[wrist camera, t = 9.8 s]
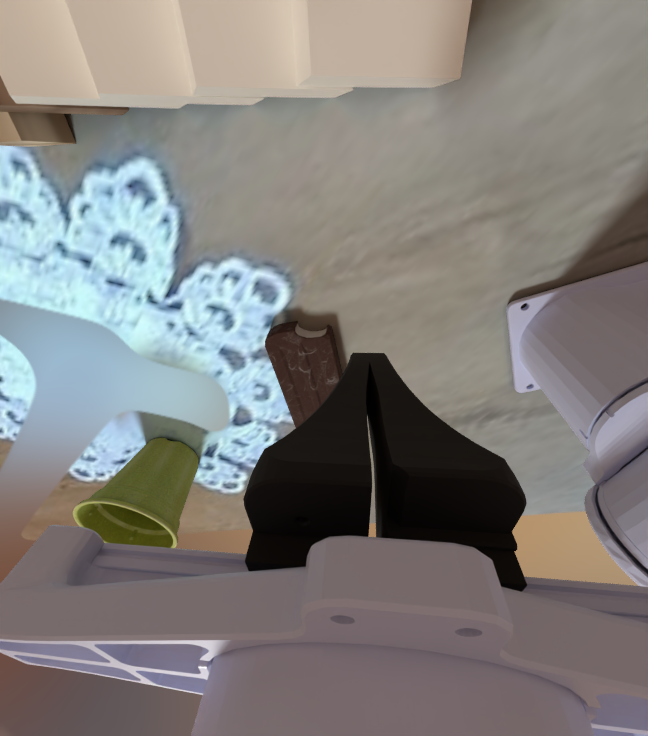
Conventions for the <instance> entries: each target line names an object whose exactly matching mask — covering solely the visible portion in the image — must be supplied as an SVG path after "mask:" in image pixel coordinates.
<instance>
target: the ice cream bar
mask: <svg viewBox="0 0 648 736" xmlns="http://www.w3.org/2000/svg"><path fill="white" fill-rule="evenodd" d="M265 347H266V350H267V352H268V355H269V358H270V360H271V363H272V366H273V368H274V371H275V374H276V376H277V379H278V382H279V384H280V387H281V390H282V392H283V395H284V398H285V400H286V403H287V406H288V408H289V411H290V414H291V416H292V419H293V422H294V424H295V427H296V428H297V427H298V426H299V425H301V424H302V423H303V422H304V421H305V420H307V419H308V418H309V417H310V416H311V415H312V414H313V413H314V412H315V411H316V410H317V409H318V408H319V407H320V405H321V404H322V403H323V402H324V401H325V400H326V398H327V397H328V396H329V395H330V393H331V392H332V390H333V389H334V388H335V386H336V385H337V383H338V382H339V380H340V378H341V377H342V375H343V374H342V370H341V365H340V361H339V357H338V352H337V348H336V343H335V339H334V335H333V330H332V326H330V325H328V326H327V328H326V329H324V330H320V331H307V330H304V329H302V328H300V327H299V325H298V322H297V321H295V322H289V323H283V324H279V325H277V326H275V327H273V328H272V329H271V330H270V331H269V333H268V335H267V338H266V341H265Z"/></svg>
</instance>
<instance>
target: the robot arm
mask: <svg viewBox="0 0 648 736" xmlns="http://www.w3.org/2000/svg"><path fill="white" fill-rule="evenodd" d="M525 303H527V305H526V306H525V307H524V308H521V306H522V305H523V304H525ZM506 311H507V321H508V331H509V341H510V351H511V361H512V371H513V381H514V388H515V390H516V391H517V392H519V393H524V392H528V391H533V390H538V389H542V391H543V392H544V393H545V395H546V396H547V397H548V399H549V400H550V401H551V402H552V404H553V405H554V406H555V408H556V409H557V410H558V412H559V413H560V414H561V416H562V417H563V418H564V420H565V421H566V422H567V423H568V425H569V426H570V427H571V429H572V430H573V431H574V433H575V434H576V435H577V437H578V438H579V439H580V440H581V442H582V443H583V444H584V446H585V447H586V448H587V450H588V451H589V452H590V454H589V457H588V458H587V460H586V461H585V462H584V463H583V464H582V465H583V467H584V468H585V470H586V471H587V473H588V474H589V475H590V477H591V478H592V480H593V481H594V482H595V484H596V485H595V486H593V487H592V488H591V489H590V490H588V492H587V494H586V496H585V503H584V504H585V510H586V514H587V517H588V519H589V522H590V524H591V526H592V528H593V530H594V532H595V534H596V535H597V537H598V539H599V541H600V542H601V544H602V545H603V547H604V548H605V550H606V551H607V552H608V554H609V555H610V556H611V558H612V559H613V560H614V561H615V562H616V563H617V565H618V566H619V567H620V568H621V569H622V570H623V571H624V572H625V573H626V574H627V575H628V576H629V577H630V578H631V579H632V580H633V581H634V582H635V583H636V584H638V585H639V586H631V585H619V584H607V583H595V582H581V581H569V580H558V579H545V578H533V577H524V575H523V573H522V570H521V568H520V565H519V563H518V560H517V557H516V555H515V552H514V551H516V550H517V543H516V541H515V539H514V536H513V534H512V530H513V528H514V527H515V525H516V524H517V522H518V520H519V518H520V517H521V515H522V513H523V512H524V509H525V506H526V498H525V494H524V492H523V490H522V488H521V486H520V484H519V482H518V480H517V479H516V477H515V475H514V473H513V472H512V470H511V469H510V467H509V466H508V464H507V463H506V461H505V459H504V458H502V457H500V456H498V455H496V454H494V453H492V452H491V451H489V450H487V449H485V448H483V447H481V446H480V445H478V444H476V443H474V442H473V441H471V440H470V439H468V438H466V437H465V436H463V435H462V434H460V433H459V432H457V431H456V430H454V429H453V428H451V427H450V426H449V425H447V424H446V423H445V422H443V421H442V420H441V419H440V418H438V417H437V416H436V415H435V414H433V413H432V412H431V411H430V410H429V409H428V408H427V407H426V406H425V405H424V404H423V403H422V402H421V401H420V400H419V399H418V398H417V397H416V396H415V395H414V394H413V393H412V392H411V390H410V389H409V388H408V387H407V386H406V384H405V383H404V382H403V380H402V379H401V378H400V376H399V375H398V374H397V372H396V371H395V369H394V368H393V366H392V365H391V363H390V361H389V360H388V358H387V356H386V355H385V354H384V353H353V354H352V355H351V357H350V360H349V363H348V365H347V367H346V369H345V371H344V373H343V375H342V377H341V378H340V380H339V382H338V383H337V385H336V386H335V388H334V389H333V390H332V392H331V393H330V395H329V396H328V397H327V398H326V400H325V401H324V402H323V403H322V404H321V405H320V407H319V408H318V409H317V410H316V411H315V412H314V413H313V414H312V415H311V416H310V417H309V418H308V419H307V420H305V421H304V422H303V423H302V424H301V425H299V426H298V427H297V428H296V429H294V430H293V431H292V432H291V433H289V434H288V435H287V436H285V437H284V438H282V439H281V440H279V441H277V442H276V443H274V444H273V445H271V446H269V447H268V448H266V449H265V450H264V451H263V453H262V455H261V456H260V458H259V460H258V462H257V464H256V466H255V468H254V470H253V472H252V475H251V477H250V480H249V484H248V487H247V490H246V493H245V496H244V506H245V509H246V512H247V515H248V518H249V521H250V523H251V526H252V529H253V533H252V537H251V541H250V545H249V548H248V551H247V554H237V553H225V552H212V551H200V550H188V549H176V548H164V547H151V546H139V545H127V544H114V543H104V542H103V539H102V538H101V536H100V535H99V534H98V533H96V532H95V531H93V530H91V529H89V528H84V527H74V526H61V525H51V526H48V528H47V529H46V530H45V531H44V532H43V534H42V535H41V536H40V537H39V538H38V539H37V541H36V542H35V543H34V544H33V545H32V547H31V548H30V549H29V550H28V552H27V553H26V554H25V555H24V556H23V557H22V559H21V560H20V561H19V562H18V564H17V565H16V566H15V567H14V568H13V569H12V571H11V572H10V573H9V574H8V575H7V576H6V578H5V579H4V580H3V581H2V582H1V584H0V652H1V653H3V654H5V655H8V656H10V657H12V658H14V659H17V660H19V661H21V662H24V663H26V664H31V665H38V666H46V667H53V668H60V669H66V670H72V671H78V672H85V673H90V674H96V675H101V676H107V677H112V678H118V679H123V680H128V681H133V682H138V683H144V684H149V685H154V686H160V687H165V688H170V689H175V690H181V691H185V692H191V693H196V694H201V695H203V696H202V700H201V703H200V707H199V710H198V714H197V717H196V720H195V724H194V727H193V731H192V734H191V736H648V261H647V262H644V263H641V264H637V265H634V266H630V267H627V268H624V269H620V270H617V271H613V272H610V273H607V274H603V275H600V276H596V277H593V278H590V279H586V280H583V281H579V282H576V283H573V284H569V285H566V286H562V287H559V288H556V289H552V290H549V291H545V292H542V293H539V294H535V295H532V296H528V297H525V298H522V299H518V300H515V301H512V302H510V303H509V304H508V306H507V309H506ZM529 384H531V385H530V386H527V385H529ZM367 415H368V423H369V430H370V438H371V445H372V453H373V461H374V477H375V509H376V537H368V533H369V520H370V507H371V493H372V471H371V459H370V449H369V439H368V426H367Z"/></svg>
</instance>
